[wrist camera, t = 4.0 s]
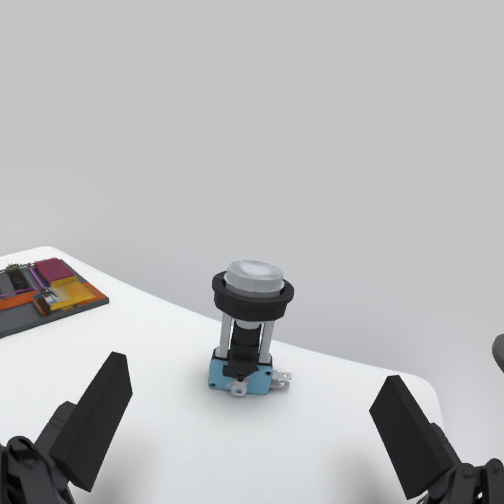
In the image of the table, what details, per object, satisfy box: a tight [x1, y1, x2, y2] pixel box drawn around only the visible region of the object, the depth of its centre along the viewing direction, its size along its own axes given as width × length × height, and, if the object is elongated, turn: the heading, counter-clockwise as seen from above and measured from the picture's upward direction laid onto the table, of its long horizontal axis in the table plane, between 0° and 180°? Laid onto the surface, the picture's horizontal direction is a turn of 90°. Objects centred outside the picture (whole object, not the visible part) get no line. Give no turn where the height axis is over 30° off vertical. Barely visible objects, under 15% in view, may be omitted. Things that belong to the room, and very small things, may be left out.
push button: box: [208, 261, 294, 397], centre depth 19 cm, size 7×5×10 cm
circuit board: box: [0, 258, 109, 338], centre depth 22 cm, size 25×18×3 cm
